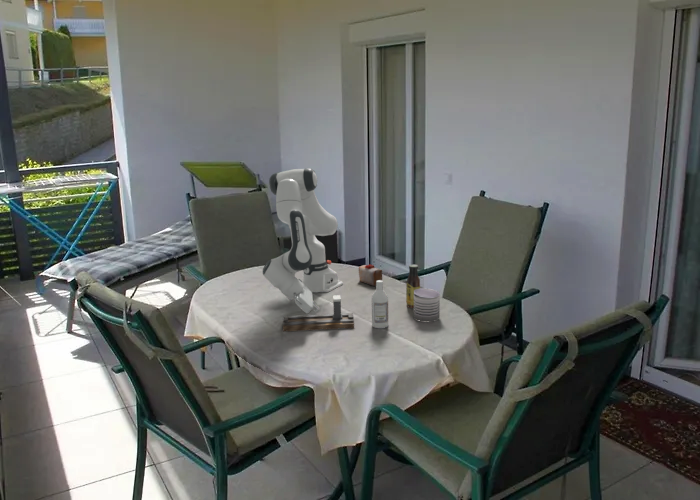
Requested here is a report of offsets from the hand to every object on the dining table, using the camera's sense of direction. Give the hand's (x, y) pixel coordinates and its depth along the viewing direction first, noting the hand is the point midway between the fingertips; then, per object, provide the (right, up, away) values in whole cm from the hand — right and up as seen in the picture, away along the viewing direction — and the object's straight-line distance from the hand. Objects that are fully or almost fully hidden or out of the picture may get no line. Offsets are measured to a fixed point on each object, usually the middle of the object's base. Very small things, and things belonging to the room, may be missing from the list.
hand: (318, 310), depth 274 cm
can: (+47, -4, +6) cm, 48 cm away
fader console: (0, -6, +1) cm, 6 cm away
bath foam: (+27, -7, -2) cm, 27 cm away
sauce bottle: (+43, 0, +20) cm, 47 cm away
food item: (+24, +9, +57) cm, 63 cm away
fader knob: (+8, -4, +1) cm, 9 cm away
